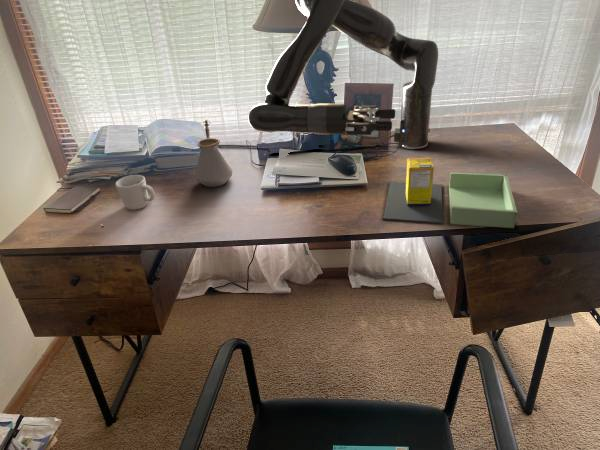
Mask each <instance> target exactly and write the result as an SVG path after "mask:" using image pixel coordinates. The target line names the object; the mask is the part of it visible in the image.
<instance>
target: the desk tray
mask: <svg viewBox="0 0 600 450" xmlns="http://www.w3.org/2000/svg"><path fill="white" fill-rule="evenodd" d="M448 195H449V220H450V224H451V225H459V226H476V227H491V228H503V229H515V227H516V226H515V225H516V220H517V215H518V210H517V206H516V202H515V199H514V195H513V192H512V189H511V185H510V182H509V178H508V175H507V174H498V173H495V174H494V173H476V172H475V173H471V172H450V175H449V184H448Z"/></svg>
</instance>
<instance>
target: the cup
mask: <svg viewBox="0 0 600 450" xmlns="http://www.w3.org/2000/svg"><path fill="white" fill-rule="evenodd" d="M114 186H115V188H116V189H117V193H118V194H119V196H120V199H121V200H122V203H123V205H124V206H125V208H126V209H128V210H131V211H137V210H140V209H143V208H145V207H146V206H147V205H148V204H149V202H152V201H153V200H155V197H156V193H155V190H154V189H153V187H152V186H151V185H149V184H147V182H146V178H145V176H144V175H142V174H130V175H126V176H123V177H120V178H119V179H118V180H116V182H115V185H114ZM148 192H149V193H148ZM149 194H150V196H149Z"/></svg>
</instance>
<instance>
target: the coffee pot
mask: <svg viewBox="0 0 600 450" xmlns="http://www.w3.org/2000/svg"><path fill="white" fill-rule="evenodd" d="M210 123H211V121H210V120H208V119H205V120H204V121H202V124H203V125H204V127H205V129H204V130H205V136H206V138H204V139H201V140H199V141H198V142H197V143H196V145H197V147H198V148H199V149H200V151H199V155H198V159H197V160H198V161H197V165H196V168H195V169H196V170H195V173H194V177H195V180H196V181H197V182H198V183H200V184H201V185H204V186H205V187H208V188H215V187H216V188H217V187H220V186H224V185H225V184H226V183H227V182H228V181H229V180H230V178H231V177H232V176H233V172H234V170H233V167H232V166H231V165H230V162H228V160H227V159H226V157H225V156H224V154H223V153H222V151H221V150H220V147H218V145H220V143H221V140H220V139H218V138H214V137H213V138H211V137H210V135H211V134H210V127H209V125H210Z"/></svg>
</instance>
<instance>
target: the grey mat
mask: <svg viewBox="0 0 600 450" xmlns="http://www.w3.org/2000/svg"><path fill="white" fill-rule="evenodd" d="M442 187H443V185H442V184H433V183H432V195H431V205H430V206H407V201H406V182H390V183H389V186H388V193H387V197H386V203H385V207H384V212H383V217H382V220H383V221H396V222H397V221H399V222H413V223H426V224H443V204H442V203H443V193H442V191H443V190H442V189H443V188H442Z"/></svg>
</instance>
